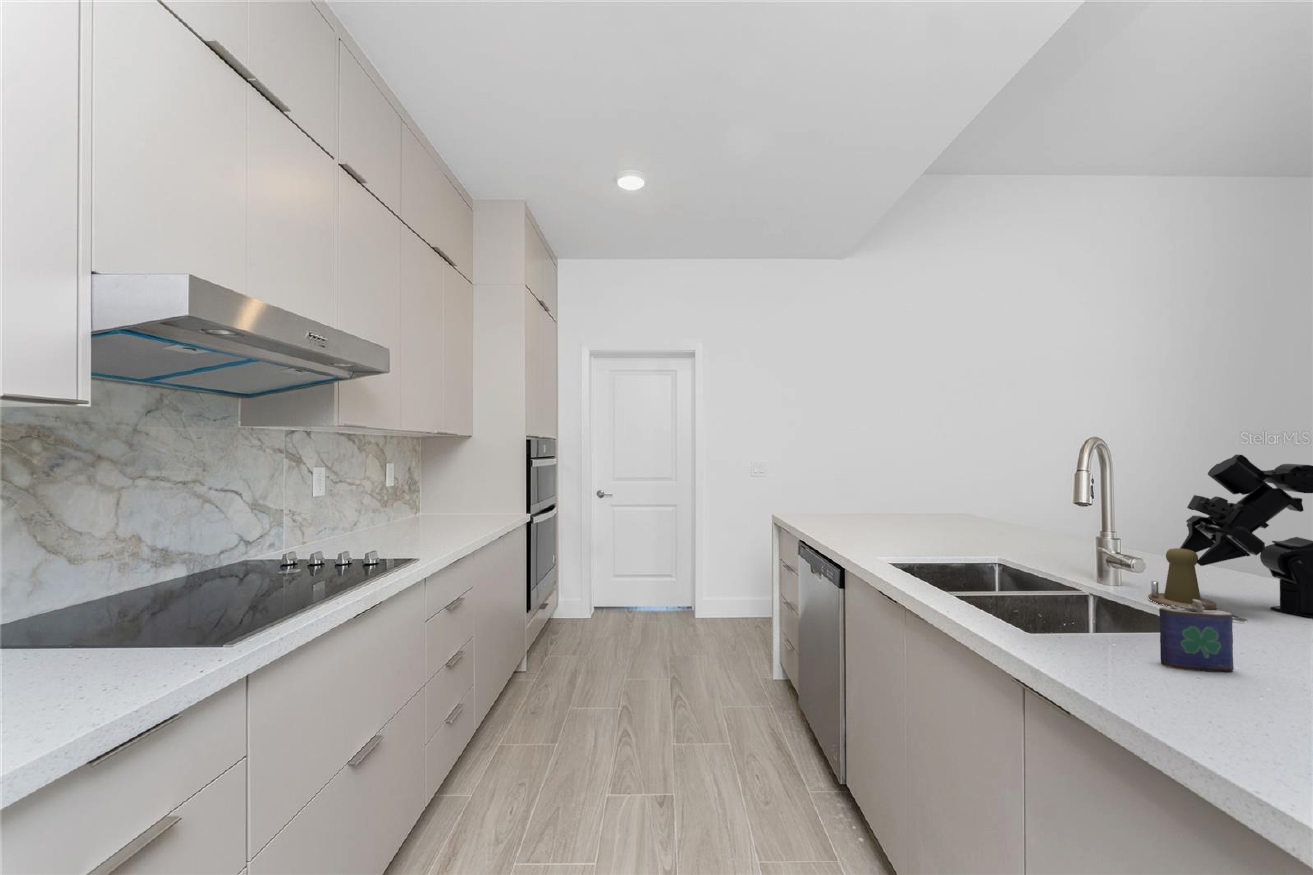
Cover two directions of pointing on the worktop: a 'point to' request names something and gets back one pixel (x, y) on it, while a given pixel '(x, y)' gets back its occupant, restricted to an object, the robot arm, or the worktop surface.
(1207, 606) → the walnut plate
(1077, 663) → the worktop surface
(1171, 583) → the cork
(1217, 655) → the flask
